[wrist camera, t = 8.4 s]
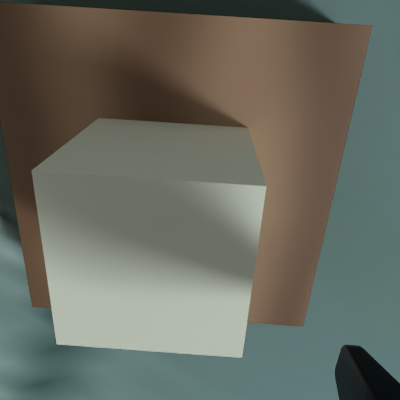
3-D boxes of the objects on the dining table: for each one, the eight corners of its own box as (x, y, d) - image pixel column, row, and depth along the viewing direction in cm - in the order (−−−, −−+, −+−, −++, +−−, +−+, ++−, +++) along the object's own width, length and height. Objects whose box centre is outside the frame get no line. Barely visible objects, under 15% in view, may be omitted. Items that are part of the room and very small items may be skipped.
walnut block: (338, 25, 17) (372, 25, 13) (289, 278, 23) (303, 326, 19) (30, 6, 17) (-21, 0, 13) (61, 262, 23) (32, 306, 19)
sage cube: (248, 127, 15) (266, 186, 9) (234, 254, 17) (241, 357, 12) (98, 118, 15) (31, 170, 10) (106, 245, 17) (56, 344, 12)
